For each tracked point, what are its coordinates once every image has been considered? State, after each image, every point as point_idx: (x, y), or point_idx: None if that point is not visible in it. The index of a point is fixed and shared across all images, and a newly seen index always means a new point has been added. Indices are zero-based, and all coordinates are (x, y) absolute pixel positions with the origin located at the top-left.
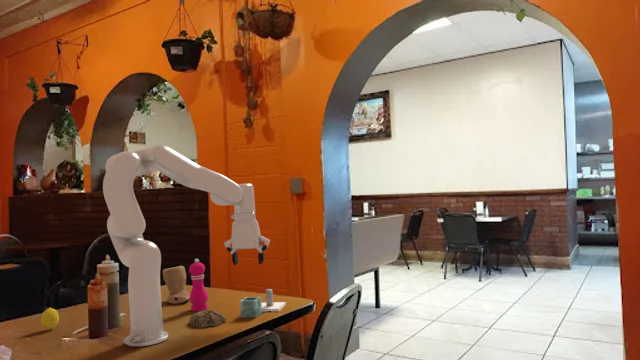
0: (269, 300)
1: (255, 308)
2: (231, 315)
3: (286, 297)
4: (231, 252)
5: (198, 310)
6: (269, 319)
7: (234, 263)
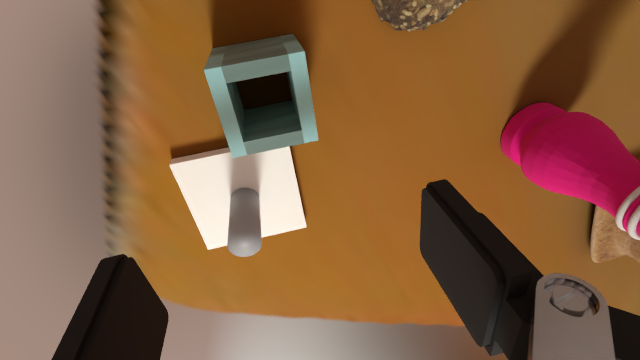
0: (236, 203)
1: (213, 58)
2: (359, 66)
3: (265, 308)
4: (580, 300)
5: (528, 106)
6: (120, 23)
7: (439, 188)
